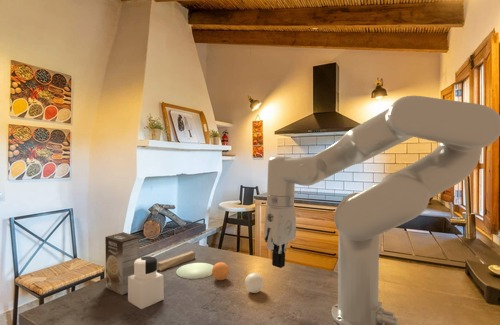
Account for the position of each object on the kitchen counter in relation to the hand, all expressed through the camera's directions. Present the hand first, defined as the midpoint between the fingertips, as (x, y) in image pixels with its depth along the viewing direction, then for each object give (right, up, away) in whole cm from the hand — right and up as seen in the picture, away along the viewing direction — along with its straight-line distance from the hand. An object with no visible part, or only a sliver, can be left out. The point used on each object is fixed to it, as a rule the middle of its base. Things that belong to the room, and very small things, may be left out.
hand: (278, 265), depth 80 cm
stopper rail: (-36, -10, +29) cm, 47 cm away
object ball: (-18, -7, +14) cm, 24 cm away
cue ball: (-7, -7, +6) cm, 11 cm away
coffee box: (-48, -10, +9) cm, 50 cm away
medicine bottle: (-38, -10, +1) cm, 39 cm away
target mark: (-27, -10, +22) cm, 36 cm away
